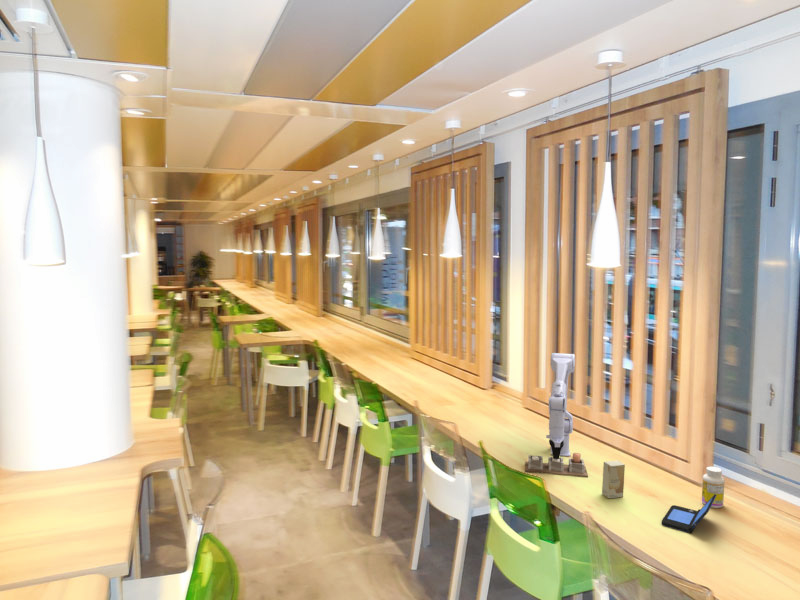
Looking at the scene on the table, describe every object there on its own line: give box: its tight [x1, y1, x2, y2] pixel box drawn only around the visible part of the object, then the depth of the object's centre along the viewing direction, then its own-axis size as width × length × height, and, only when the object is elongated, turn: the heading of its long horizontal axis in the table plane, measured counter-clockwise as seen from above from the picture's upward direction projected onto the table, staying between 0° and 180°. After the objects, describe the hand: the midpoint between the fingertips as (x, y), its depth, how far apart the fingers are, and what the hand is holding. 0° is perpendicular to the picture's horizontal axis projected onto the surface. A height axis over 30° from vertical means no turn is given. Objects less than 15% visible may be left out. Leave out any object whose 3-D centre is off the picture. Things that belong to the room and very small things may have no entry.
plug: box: [532, 455, 539, 460], centre depth 228 cm, size 3×3×3 cm
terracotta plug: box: [572, 452, 582, 463], centre depth 224 cm, size 3×3×3 cm
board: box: [524, 454, 589, 478], centre depth 226 cm, size 10×24×4 cm, turn 78°
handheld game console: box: [661, 494, 716, 535], centre depth 182 cm, size 16×13×9 cm
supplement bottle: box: [701, 466, 725, 509], centre depth 195 cm, size 7×7×13 cm
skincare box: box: [601, 460, 626, 499], centre depth 202 cm, size 6×4×12 cm
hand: (555, 458), depth 226 cm, fingers closed
